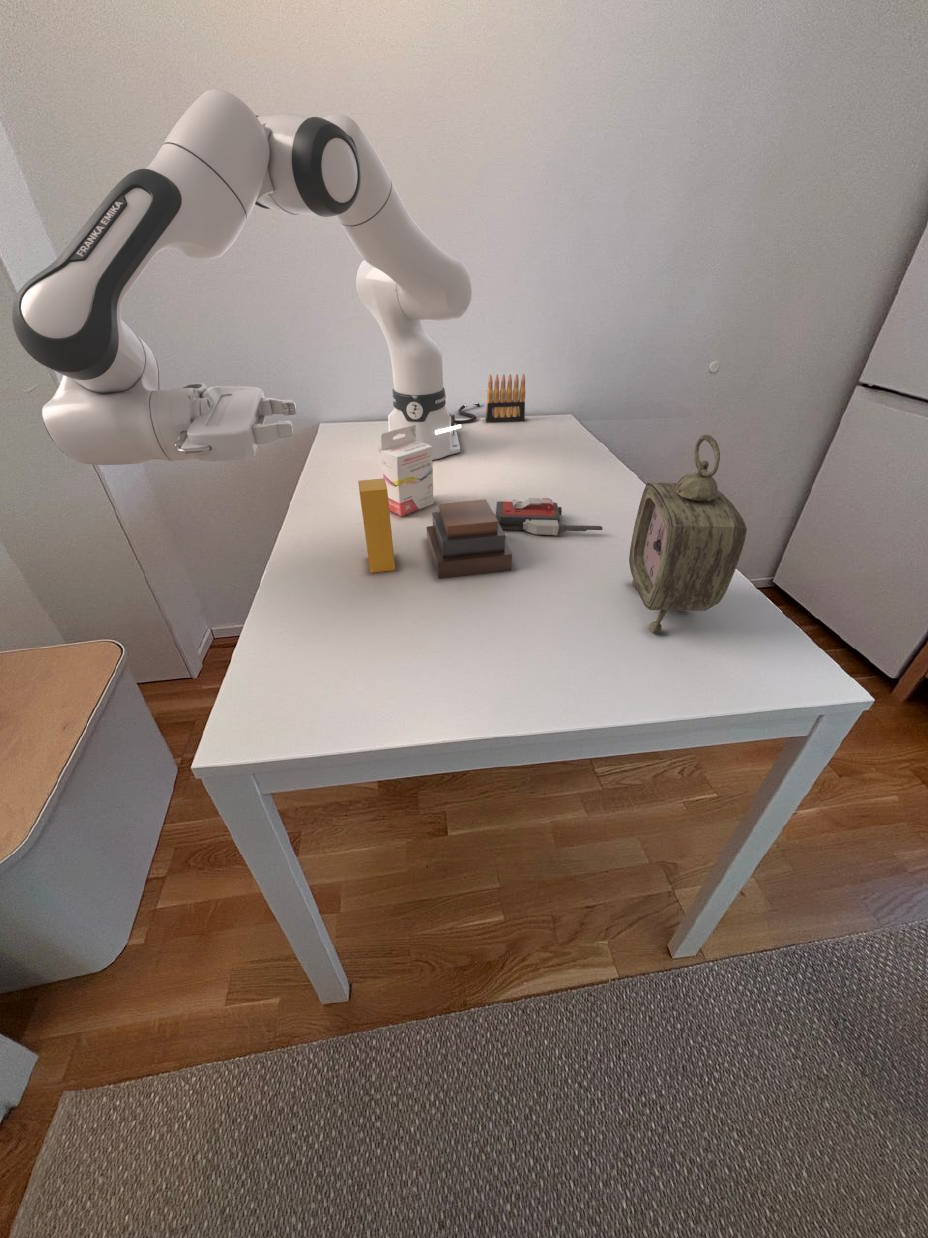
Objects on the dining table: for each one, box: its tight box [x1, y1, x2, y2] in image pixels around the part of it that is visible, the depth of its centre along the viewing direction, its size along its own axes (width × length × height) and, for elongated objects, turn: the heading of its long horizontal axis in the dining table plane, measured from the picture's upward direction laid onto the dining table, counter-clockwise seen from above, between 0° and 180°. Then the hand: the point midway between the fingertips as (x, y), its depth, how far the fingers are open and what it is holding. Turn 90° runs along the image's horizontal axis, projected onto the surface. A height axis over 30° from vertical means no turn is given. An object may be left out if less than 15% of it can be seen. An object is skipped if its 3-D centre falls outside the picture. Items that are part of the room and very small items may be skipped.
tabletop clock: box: [628, 434, 748, 634], centre depth 67 cm, size 14×9×25 cm, turn 178°
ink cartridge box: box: [380, 425, 435, 517], centre depth 97 cm, size 9×5×15 cm, turn 134°
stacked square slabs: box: [425, 498, 513, 579], centre depth 85 cm, size 12×12×8 cm
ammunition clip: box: [485, 373, 526, 423], centre depth 139 cm, size 11×2×12 cm, turn 96°
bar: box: [357, 478, 396, 574], centre depth 80 cm, size 4×4×14 cm
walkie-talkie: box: [495, 497, 604, 536], centre depth 94 cm, size 9×4×20 cm
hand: (294, 417), depth 71 cm, fingers open, 8 cm apart
